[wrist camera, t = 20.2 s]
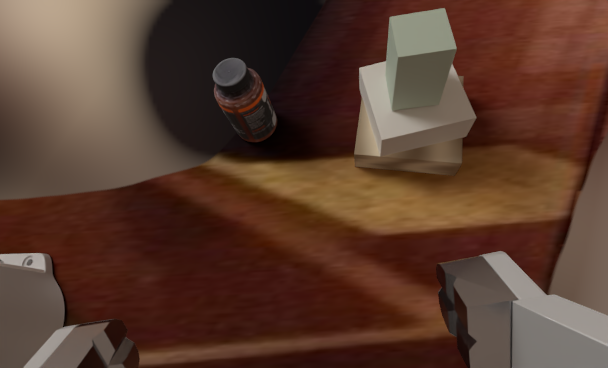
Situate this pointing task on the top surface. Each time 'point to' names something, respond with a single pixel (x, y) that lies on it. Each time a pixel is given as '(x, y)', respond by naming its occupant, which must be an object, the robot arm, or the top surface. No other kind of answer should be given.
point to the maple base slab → (406, 152)
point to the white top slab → (413, 114)
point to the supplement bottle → (244, 100)
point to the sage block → (418, 58)
